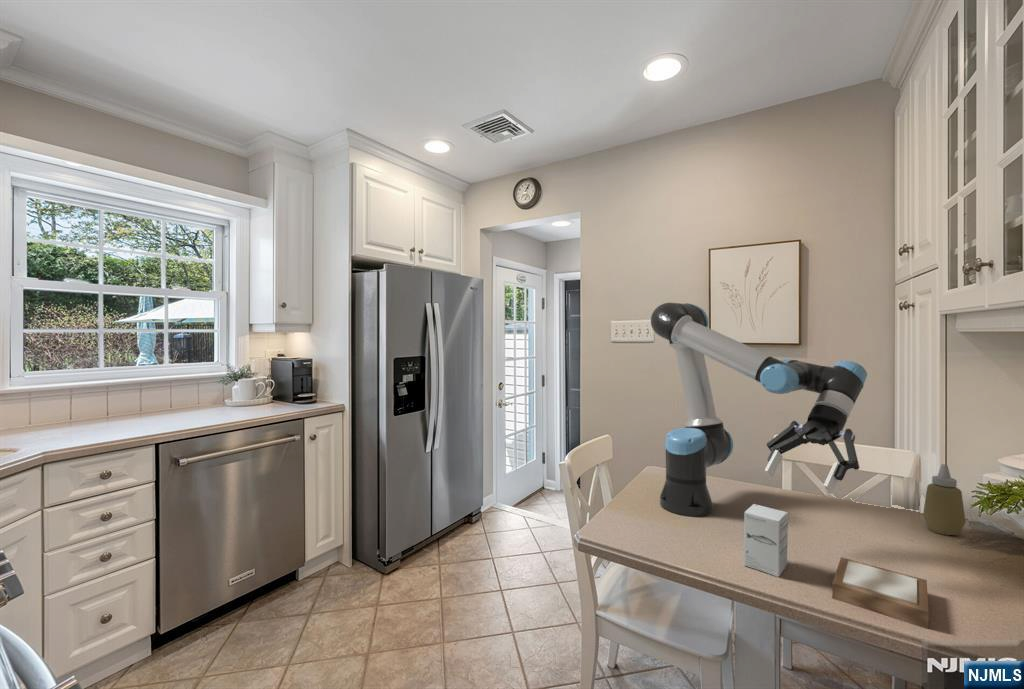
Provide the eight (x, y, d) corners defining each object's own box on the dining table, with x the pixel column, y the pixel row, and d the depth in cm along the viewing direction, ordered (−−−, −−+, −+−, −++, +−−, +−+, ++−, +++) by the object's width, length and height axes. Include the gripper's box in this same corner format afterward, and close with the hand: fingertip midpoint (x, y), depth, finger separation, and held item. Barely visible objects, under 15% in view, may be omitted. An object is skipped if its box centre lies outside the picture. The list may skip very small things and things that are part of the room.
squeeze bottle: (963, 531, 118) (964, 464, 117) (967, 541, 112) (967, 471, 111) (922, 522, 123) (923, 458, 123) (923, 532, 117) (924, 465, 117)
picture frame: (832, 597, 88) (832, 581, 88) (840, 570, 99) (840, 555, 98) (928, 628, 79) (928, 610, 79) (926, 594, 89) (926, 578, 89)
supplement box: (742, 566, 101) (742, 511, 100) (753, 554, 106) (753, 502, 106) (779, 578, 95) (779, 520, 95) (788, 565, 101) (788, 511, 100)
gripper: (895, 430, 102) (863, 507, 95) (786, 415, 124) (753, 476, 117) (884, 409, 99) (850, 486, 93) (774, 398, 122) (740, 459, 115)
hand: (796, 481), depth 105 cm, fingers open, 13 cm apart
